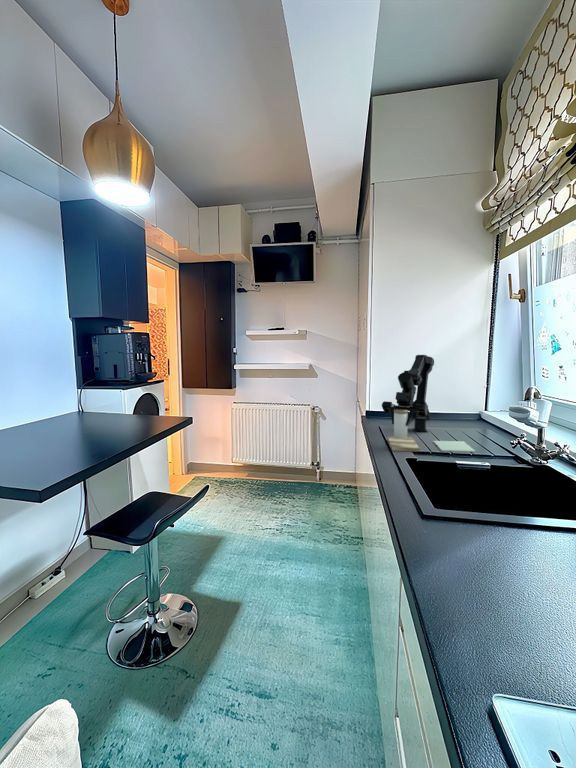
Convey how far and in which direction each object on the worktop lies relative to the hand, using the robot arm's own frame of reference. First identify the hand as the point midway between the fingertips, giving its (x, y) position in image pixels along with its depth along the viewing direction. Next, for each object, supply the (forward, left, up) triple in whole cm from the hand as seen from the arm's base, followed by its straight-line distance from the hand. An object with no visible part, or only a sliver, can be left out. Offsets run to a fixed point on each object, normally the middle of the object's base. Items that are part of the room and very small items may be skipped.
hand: (399, 424), depth 139 cm
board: (-4, +2, -11) cm, 12 cm away
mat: (-4, +23, -11) cm, 26 cm away
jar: (-1, +1, -6) cm, 6 cm away
